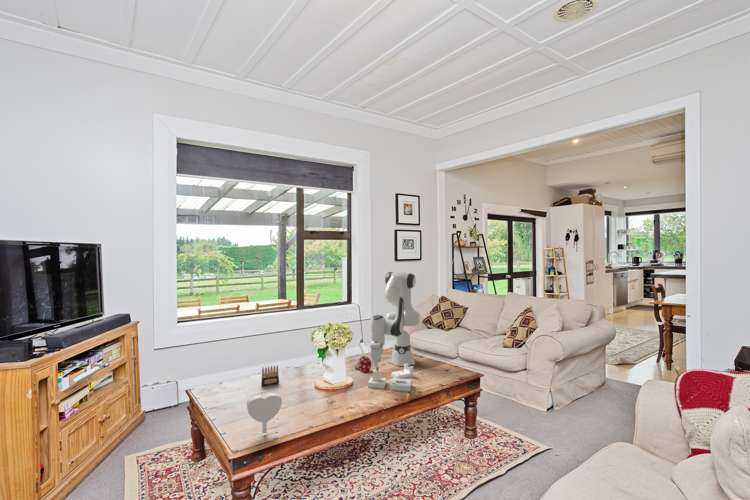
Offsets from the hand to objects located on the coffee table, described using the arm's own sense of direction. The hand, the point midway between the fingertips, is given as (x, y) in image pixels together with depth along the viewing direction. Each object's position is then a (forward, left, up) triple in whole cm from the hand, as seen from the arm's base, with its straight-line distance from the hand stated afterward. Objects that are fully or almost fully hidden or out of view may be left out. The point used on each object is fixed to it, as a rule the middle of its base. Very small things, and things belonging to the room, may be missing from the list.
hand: (377, 364), depth 236 cm
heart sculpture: (+67, -42, -15) cm, 80 cm away
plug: (0, 0, -13) cm, 13 cm away
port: (0, +15, -14) cm, 21 cm away
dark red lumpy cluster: (-28, -16, -15) cm, 35 cm away
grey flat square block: (0, 0, -14) cm, 14 cm away
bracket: (-20, +13, -15) cm, 28 cm away
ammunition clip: (+11, -67, -15) cm, 70 cm away
